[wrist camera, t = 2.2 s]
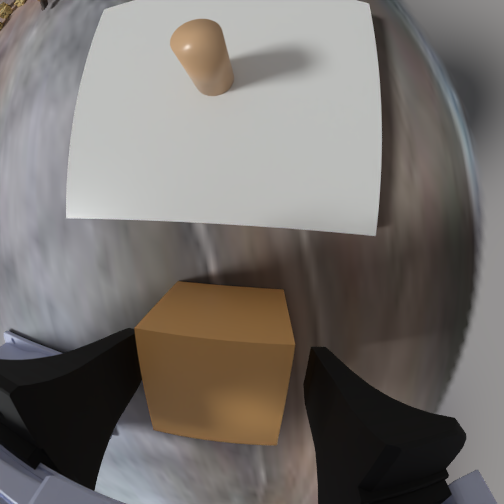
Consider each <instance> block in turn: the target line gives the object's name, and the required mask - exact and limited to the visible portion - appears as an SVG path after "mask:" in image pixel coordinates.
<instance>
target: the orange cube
mask: <svg viewBox="0 0 504 504" xmlns="http://www.w3.org/2000/svg"><path fill="white" fill-rule="evenodd" d="M134 330H135V338H136V345H137V352H138V358H139V364H140V370H141V375H142V381H143V386H144V391H145V396H146V400H147V405H148V409H149V414H150V418H151V422H152V426H153V430H156V431H160V432H164V433H169V434H174V435H179V436H185V437H190V438H197V439H203V440H210V441H218V442H228V443H238V444H253V445H277V441H278V436H279V431H280V427H281V422H282V417H283V412H284V407H285V401H286V396H287V391H288V385H289V380H290V374H291V368H292V362H293V356H294V350H295V341H294V336H293V331H292V327H291V322H290V317H289V312H288V308H287V303H286V299H285V294H284V290H283V289H267V288H253V287H239V286H226V285H214V284H202V283H191V282H181V281H178V282H177V283H176V284H175V285H174V286H173V287H172V288H171V289H170V290H169V291H168V292H167V293H166V294H165V295H164V296H163V297H162V299H161V300H160V301H159V302H158V303H157V304H156V305H155V306H154V307H153V308H152V309H151V310H150V311H149V313H148V314H147V315H146V316H145V317H144V318H143V319H142V320H141V321H140V322H139V323H138V324H137V326H136V327H135V328H134Z"/></svg>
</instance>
